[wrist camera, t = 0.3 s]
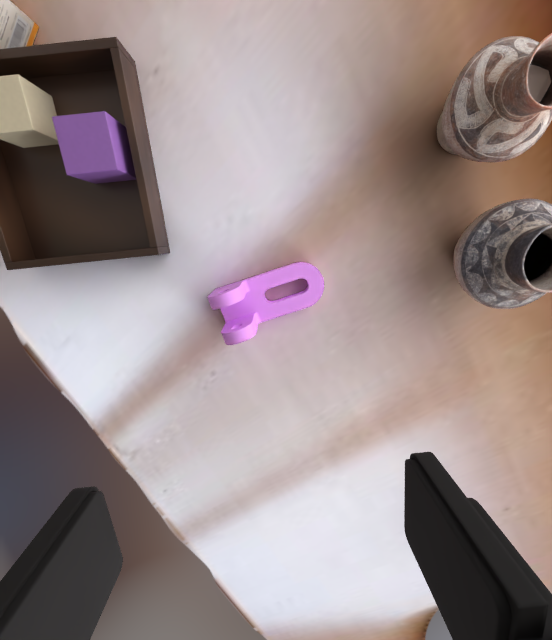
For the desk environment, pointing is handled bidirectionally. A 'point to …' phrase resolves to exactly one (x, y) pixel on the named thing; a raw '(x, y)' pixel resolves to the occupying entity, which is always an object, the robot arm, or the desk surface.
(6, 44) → the supplement box
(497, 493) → the desk surface
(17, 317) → the desk surface
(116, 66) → the wooden box
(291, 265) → the bracket
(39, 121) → the cream block
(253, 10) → the desk surface
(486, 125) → the pottery
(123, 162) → the lavender block
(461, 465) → the desk surface
